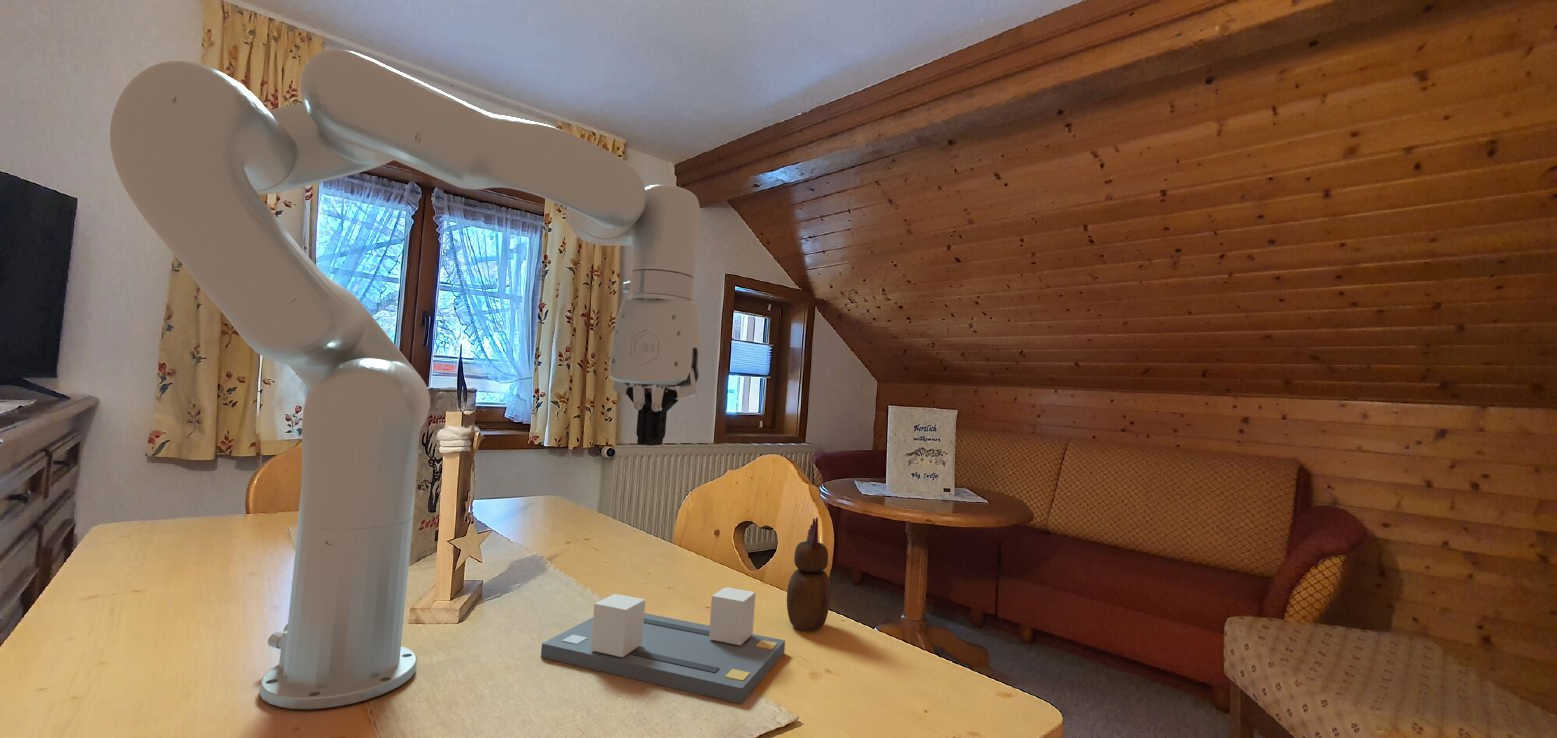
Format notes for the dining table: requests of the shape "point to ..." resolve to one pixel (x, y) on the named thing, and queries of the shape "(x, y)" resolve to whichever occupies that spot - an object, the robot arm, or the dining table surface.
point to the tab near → (618, 625)
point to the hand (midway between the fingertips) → (650, 444)
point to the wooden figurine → (809, 584)
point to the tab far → (732, 615)
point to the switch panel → (676, 657)
